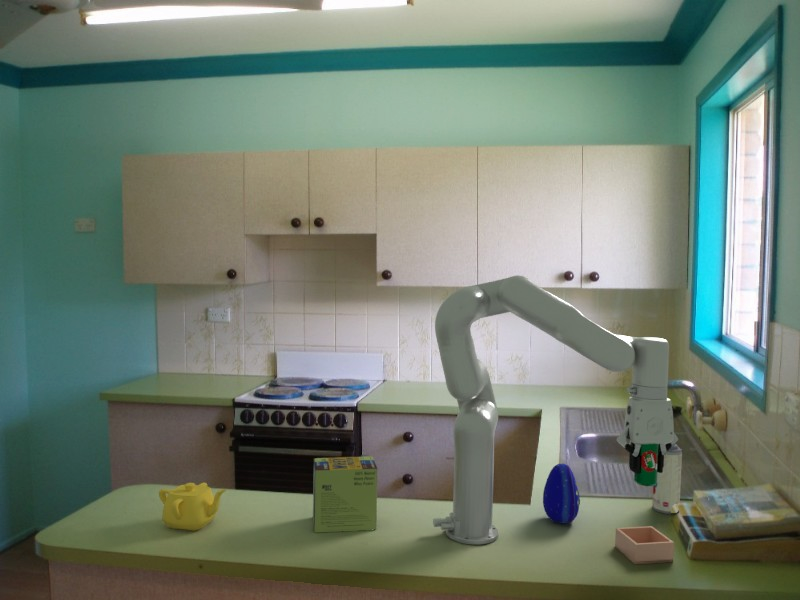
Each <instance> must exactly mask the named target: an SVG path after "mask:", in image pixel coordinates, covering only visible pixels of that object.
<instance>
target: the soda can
mask: <svg viewBox="0 0 800 600" xmlns="http://www.w3.org/2000/svg"><path fill="white" fill-rule="evenodd" d="M658 455H659V444H646V445H641V447H640V450H639V454H638V456H639V457H640V473H639V474H636V473H634V472H633V481H634V482H635V484H638V485H639V486H643V487H653V486H654V485H655V484H656V483H657V479H658Z"/></svg>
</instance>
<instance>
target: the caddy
mask: <svg viewBox="0 0 800 600" xmlns="http://www.w3.org/2000/svg"><path fill="white" fill-rule="evenodd" d="M614 540H615V541H614V548H615V549H617V550H618V551H619V552H620V553H621V554H623V556H624V557H626V558H627V559H628V560H630V561H631V562H632V563H633V564H634V565H649V564H661V563H662V564H663V563H674V552H675V542H674V541H673V540H671V539H670V538H669V537H667V536H666V535H665V534H664V533H662V532H660V531H659V530H658V529H657V528H655V527H654V526H652V525H649V526H632V527H629V526H628V527H617V528H615V538H614Z"/></svg>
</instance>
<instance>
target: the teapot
mask: <svg viewBox="0 0 800 600" xmlns="http://www.w3.org/2000/svg"><path fill="white" fill-rule="evenodd" d="M224 492H227V489H220V490H217V491H216V492H215V494H213V491H212V488H211V487H209V486H208V484H207V482H201V483H199V484H196V483H195V482H187V483H185V484H180V485H178V486H177V487H175V488H173V489H170V488H169V489H168V488H162V489H160V490H159V491H158V496H159V498H160V502H162V504H163V509H162V517H161V518H162V523H163V524H164V526H165V527H168V528H171V529H172V530H178V529H179V530H187V531H188V530H189V531H190V532H196V531H198V530H201V529H203V528H205V527H206V526H207V525H209V524H210V523H211V522H212V521H213V520H214V518H215V517H216V514H217V513H218V510H219V509H220V505H221V504H220V502H221V496H222V495H223V493H224ZM166 494H167V495H166Z"/></svg>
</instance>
